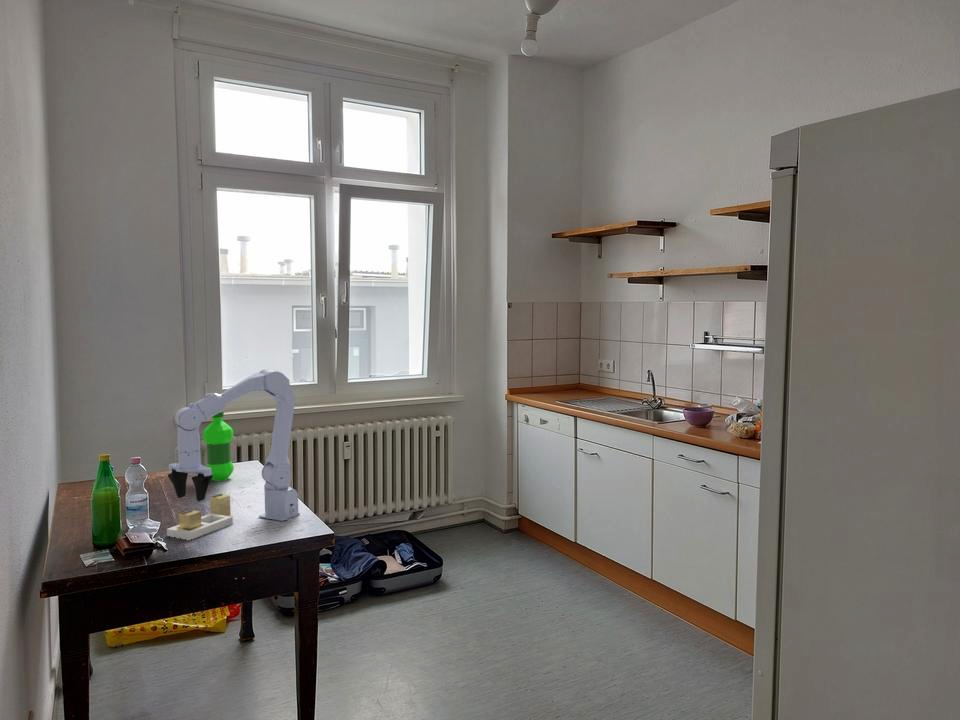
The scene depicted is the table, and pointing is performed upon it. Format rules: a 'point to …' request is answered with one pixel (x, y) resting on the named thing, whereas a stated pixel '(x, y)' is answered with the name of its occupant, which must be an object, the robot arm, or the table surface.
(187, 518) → the seated billet
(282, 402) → the robot arm
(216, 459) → the plastic bottle
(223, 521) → the tray
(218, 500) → the brass billet
